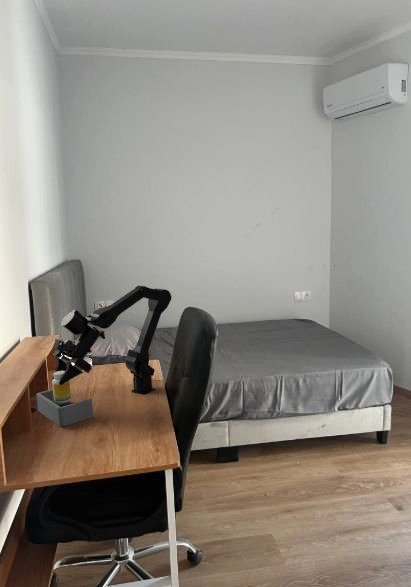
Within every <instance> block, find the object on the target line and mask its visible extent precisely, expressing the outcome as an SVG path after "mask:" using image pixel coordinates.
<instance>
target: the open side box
mask: <svg viewBox="0 0 411 587" xmlns="http://www.w3.org/2000/svg"><path fill="white" fill-rule="evenodd" d="M35 398H36V399H35V400H36V409H37V412H39V413H40V414H42V415H43V416H45V417H46V418H47V419H48V420H50V421H51V422H52V423H54V424H55V425H57V426H58V427H60V428H63V427H67V426H70V425H72V424H77V423H79V422H82V421H83V422H84V421H86V420H89V419H94V408H93V399H92V398H87V399H84V400H81V401H77V402H75V403H71V404H70V400H69V401H68V402H65V403H56V402H54V396H53V388H51V389H48V390H43V391H41V392H37V393H35ZM65 404H66V405H65ZM67 404H68V405H67ZM62 405H64V406H62Z"/></svg>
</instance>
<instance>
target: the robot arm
mask: <svg viewBox="0 0 411 587" xmlns="http://www.w3.org/2000/svg"><path fill="white" fill-rule="evenodd" d="M171 294H172V293H171V292H170V291H169V290H168V289H165V288H157V287H156V288H151V287H148V286H145V285H137V286H135V287H134V288H133V289H132V290H130V291H129V292H127V293H126V294H125V295H122V296H121V297H120V298H118V300H116V301H114V302H113V303H111V304H109V305H106V306H104V307H101V308H99V309H97V310H93V311H92V313H91V314H89V315H87V316H84V315H82V313H80V311H78V310H77V309H73V310H72V311H70V312H68V313H67V314H66V315H65V316H64V317H63V318H62V320H61V323H60V325H61V326H62V327H63V328H65V329H66V330H67V331H68V332H70V333H71V334H72V335H73V336H77V335H78V337H77V338H76V339H71V340H69V339H65V340H61V339H58V338H55V340H54V344H53V347H52V349H55V351H54V352H53V353H52V355H53V356H55V359H56V366H55V370H54V372H53V376H52V381H53V379H55V378H54V373H55V372H57V371H65V372H64V374H63V376H62V378H61V379H60V381H59V384H60V385H62V384H64V383H66V382H67V381H69V382H70V381H71V380H73V379H74V378H75V377H77V376H79V375H81V374H82V375H83V374H84V373H86V374H89V373H90V372H91V370H92V368H93V367H92V364H91V363H89V362H88V361H86V360H85V358H86V356H87V355H88V354H91V353H92V352H93V350H92V348H93V346H94V345H95V343H96V342H97V341H98V339H102V340H105V339H106V335H105V331H104V330H105V329H108V328H110V327H111V326H112V325H113V324H114V323H115V322H116V320H118V317H119V316H120V315H121V314H122V313H124V312H125V311H126V310H128V309H130V308H131V307H132V306H134V305H135V304H137V303H139V301H141V300H142V299H147V305H148V307H147V308H148V311H147V314H146V317H145V320H144V323H143V326H142V327H141V331H140V335H139V337H138V340H137V342H136V345H135V347H134V348H132V349H131V348H130V349H128V351H127V355H126V357H125V358H124V360H125V363H124V364H125V367H126V369H127V370H129V372H130V374H132V375H133V376H132V377H133V378H132V382H133V389H131V390H130V391H131V392H133V393H135V394H141V395H146V394H149V393H150V392H152V391H155V390H156V387H155V386H154V387H153V381H152V379H153V378H152V377H153V376H154V375H155V371H156V370H155V368H154V367H152V366H150V365H149V364H150V347H151V344H152V342H153V339H154V336H155V333H156V329H157V327H158V324H159V322H160V319H161V315H162V314H163V313H164V311H165V310H167V309H168V307H169V304H170V303H171V301H172V298H173V297H172V296H173V295H171ZM97 328H100V329H102V330H99V329H97ZM103 329H104V330H103Z"/></svg>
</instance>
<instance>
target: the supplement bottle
mask: <svg viewBox="0 0 411 587" xmlns="http://www.w3.org/2000/svg"><path fill="white" fill-rule="evenodd" d="M54 372H55V371H54ZM54 372H53V375H54V378H55V379H53V380H52V382H51V384H52V385H51V386H52V389H53V396H54V402H56V403H65V402H68V401H69V402H70V401H71V399H72V396H71V388H70V386H71V385H70V380H69V381H67V382H66V383H64V384H62V385H60V384H59V381H60V379H61V378H62V376H63V374H64V372H65V371H57V372H55V373H54Z"/></svg>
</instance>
